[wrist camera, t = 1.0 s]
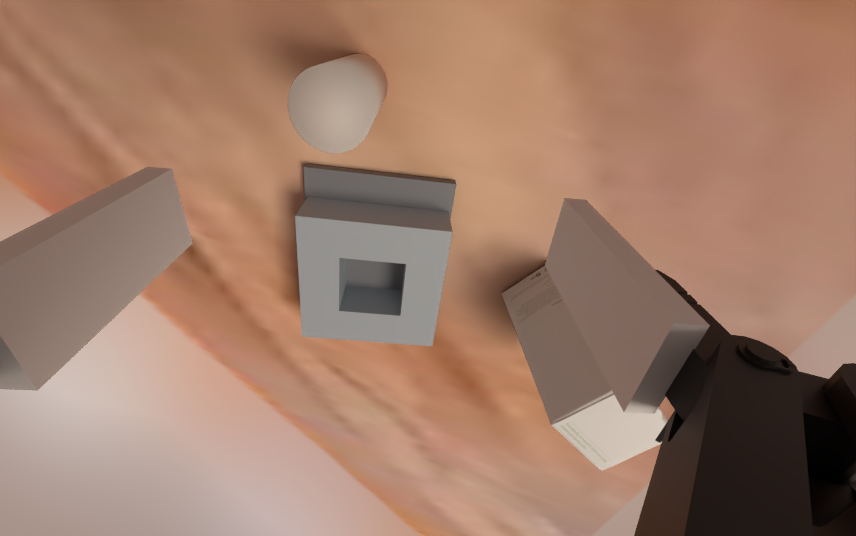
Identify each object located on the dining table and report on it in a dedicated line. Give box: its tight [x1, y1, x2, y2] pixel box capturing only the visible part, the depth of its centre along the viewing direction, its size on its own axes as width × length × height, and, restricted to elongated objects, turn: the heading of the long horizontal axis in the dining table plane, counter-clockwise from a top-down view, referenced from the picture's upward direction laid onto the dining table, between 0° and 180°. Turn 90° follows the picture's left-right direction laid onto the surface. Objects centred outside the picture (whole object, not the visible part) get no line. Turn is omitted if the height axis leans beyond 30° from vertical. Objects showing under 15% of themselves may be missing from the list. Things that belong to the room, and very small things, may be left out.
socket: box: [295, 163, 456, 346], centre depth 34 cm, size 17×12×5 cm
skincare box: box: [502, 266, 668, 471], centre depth 33 cm, size 8×7×16 cm
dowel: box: [288, 54, 388, 153], centre depth 23 cm, size 4×4×12 cm
